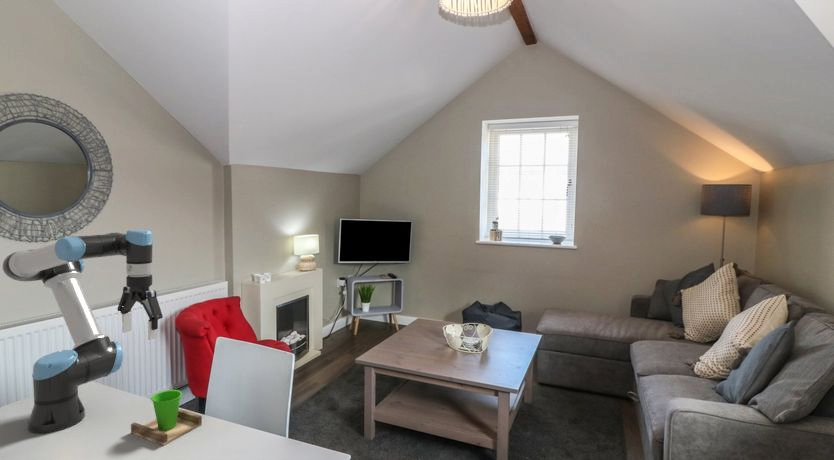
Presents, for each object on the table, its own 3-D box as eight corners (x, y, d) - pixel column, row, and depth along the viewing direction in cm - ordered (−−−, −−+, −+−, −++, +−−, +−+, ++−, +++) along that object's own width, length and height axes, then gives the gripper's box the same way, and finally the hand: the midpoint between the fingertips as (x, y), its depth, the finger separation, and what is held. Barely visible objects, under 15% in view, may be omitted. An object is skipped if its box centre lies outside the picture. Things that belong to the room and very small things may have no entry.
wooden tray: (131, 433, 145) (130, 424, 144) (169, 414, 158) (169, 405, 157) (164, 445, 138) (163, 435, 138) (201, 425, 151) (201, 416, 151)
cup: (168, 435, 142) (167, 403, 142) (145, 431, 144) (144, 399, 144) (188, 422, 151) (188, 391, 150) (166, 418, 153) (166, 388, 152)
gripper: (105, 272, 151) (105, 331, 153) (153, 281, 141) (153, 344, 143) (127, 269, 158) (127, 326, 160) (174, 277, 148) (174, 338, 150)
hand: (139, 335), depth 152 cm, fingers open, 13 cm apart
